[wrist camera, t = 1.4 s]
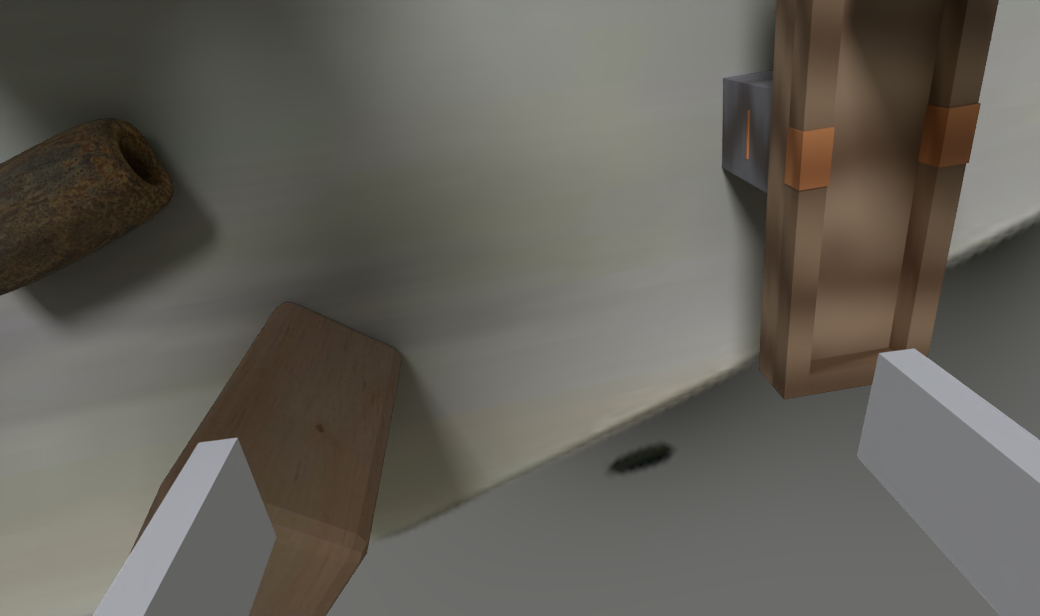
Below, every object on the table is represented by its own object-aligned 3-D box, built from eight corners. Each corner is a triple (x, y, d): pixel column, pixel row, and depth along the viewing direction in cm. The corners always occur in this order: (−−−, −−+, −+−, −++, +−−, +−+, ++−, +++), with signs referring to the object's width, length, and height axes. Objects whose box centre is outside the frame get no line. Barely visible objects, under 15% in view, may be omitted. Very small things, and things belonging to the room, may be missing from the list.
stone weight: (33, 292, 42) (-38, 338, 36) (-55, 210, 39) (-149, 245, 33) (200, 186, 40) (153, 216, 34) (120, 90, 37) (53, 105, 31)
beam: (716, -141, 34) (828, -212, 24) (871, -166, 34) (1050, -247, 24) (713, 316, 47) (783, 400, 37) (824, 298, 47) (925, 376, 37)
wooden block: (407, 348, 46) (372, 556, 28) (354, 439, 50) (292, 677, 32) (283, 292, 43) (157, 484, 25) (235, 393, 47) (94, 626, 29)
